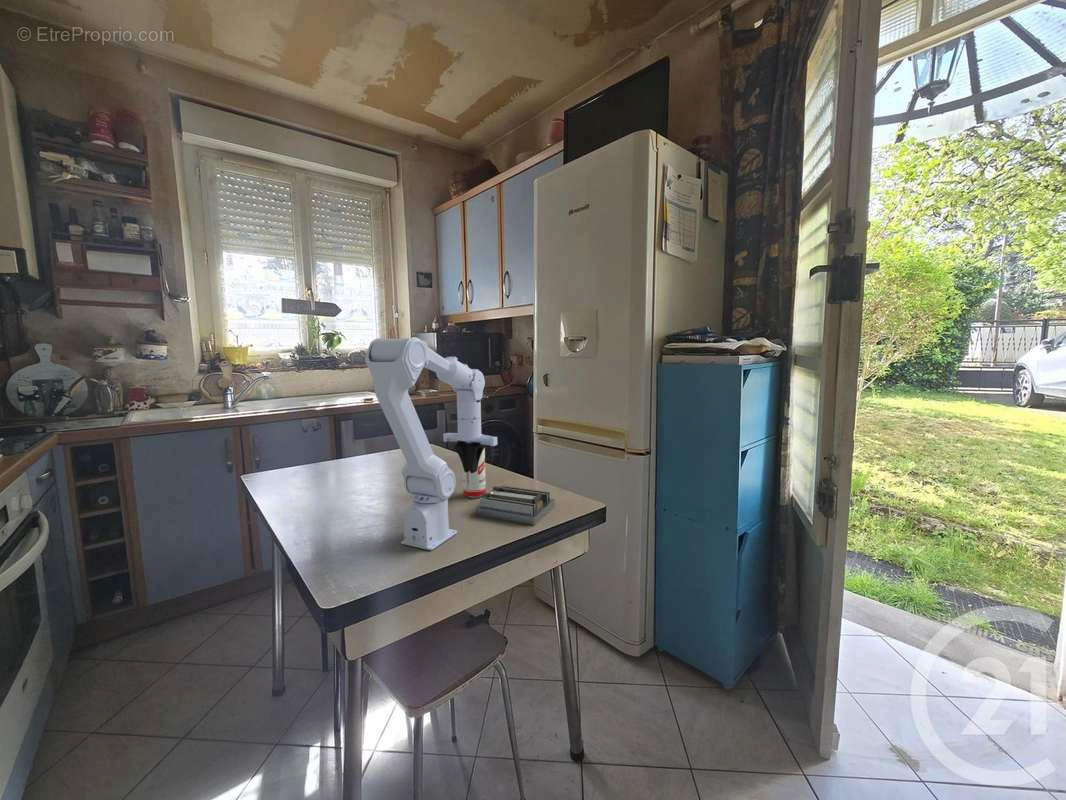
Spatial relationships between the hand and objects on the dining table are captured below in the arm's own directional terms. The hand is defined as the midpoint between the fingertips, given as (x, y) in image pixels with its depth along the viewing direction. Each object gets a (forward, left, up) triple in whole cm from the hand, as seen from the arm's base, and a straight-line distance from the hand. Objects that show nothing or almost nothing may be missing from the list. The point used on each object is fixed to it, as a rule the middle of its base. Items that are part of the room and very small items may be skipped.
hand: (470, 471), depth 107 cm
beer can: (+11, +6, -11) cm, 16 cm away
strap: (+5, -9, -7) cm, 12 cm away
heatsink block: (+5, -10, -10) cm, 15 cm away
